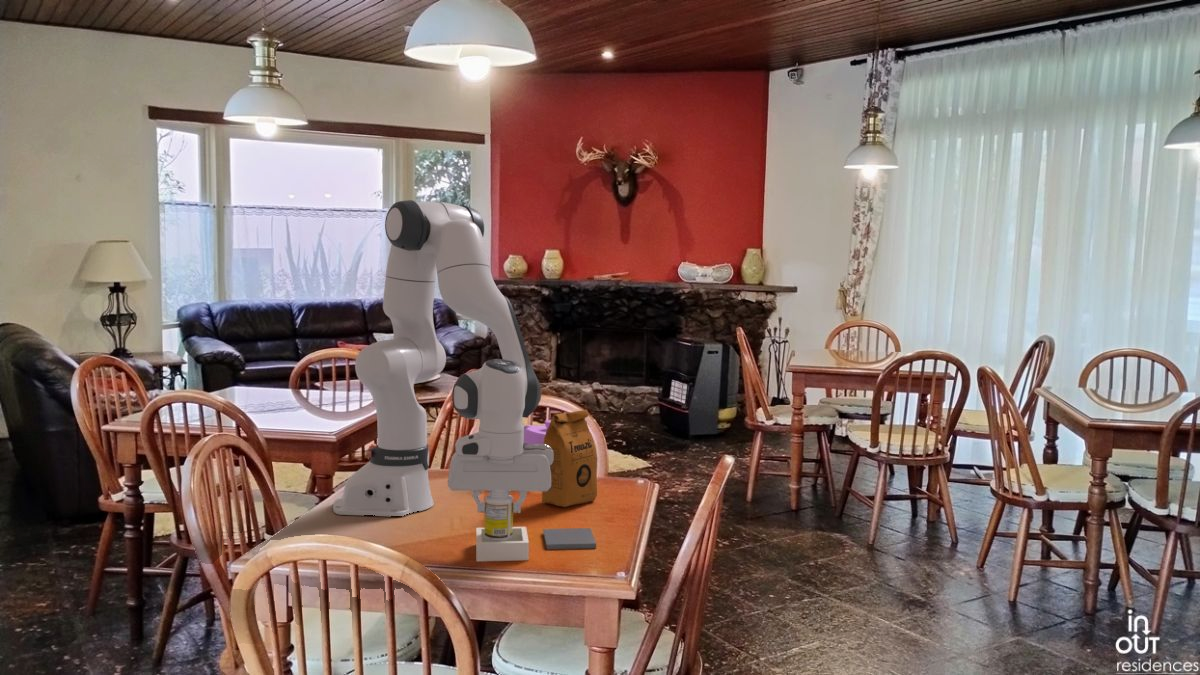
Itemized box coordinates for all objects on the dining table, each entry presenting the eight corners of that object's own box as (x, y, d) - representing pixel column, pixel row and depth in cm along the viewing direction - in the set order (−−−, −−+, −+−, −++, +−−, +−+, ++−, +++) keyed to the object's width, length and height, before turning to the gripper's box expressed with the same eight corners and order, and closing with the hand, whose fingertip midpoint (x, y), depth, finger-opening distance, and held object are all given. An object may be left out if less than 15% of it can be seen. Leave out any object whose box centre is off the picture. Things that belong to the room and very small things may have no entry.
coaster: (546, 549, 180) (546, 544, 180) (543, 533, 190) (543, 529, 190) (596, 548, 182) (596, 543, 182) (590, 532, 192) (590, 528, 192)
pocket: (476, 561, 173) (476, 543, 172) (476, 544, 183) (476, 527, 182) (528, 560, 174) (528, 542, 174) (525, 543, 184) (525, 526, 184)
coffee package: (603, 502, 215) (605, 411, 212) (562, 512, 206) (564, 417, 204) (575, 493, 222) (577, 405, 220) (536, 502, 214) (537, 411, 211)
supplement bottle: (499, 531, 182) (500, 481, 181) (518, 537, 178) (519, 487, 177) (478, 537, 178) (479, 486, 177) (497, 544, 174) (498, 492, 173)
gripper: (552, 440, 181) (550, 507, 182) (449, 438, 178) (447, 507, 179) (555, 447, 174) (552, 517, 176) (448, 446, 172) (446, 516, 173)
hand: (498, 512), depth 178 cm, fingers closed on supplement bottle, 6 cm apart
